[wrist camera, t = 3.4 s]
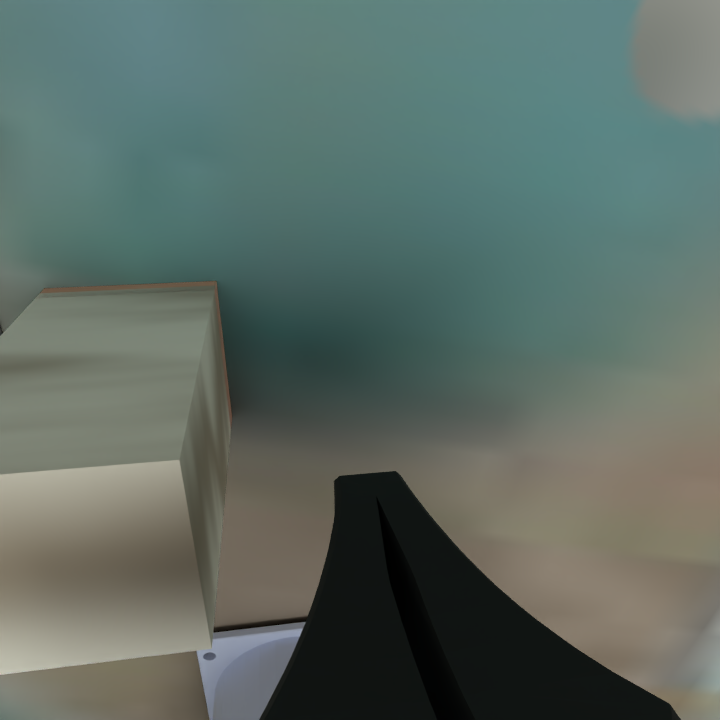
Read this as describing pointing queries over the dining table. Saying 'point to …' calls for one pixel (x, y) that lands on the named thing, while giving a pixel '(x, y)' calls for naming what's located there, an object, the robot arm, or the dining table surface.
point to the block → (111, 474)
